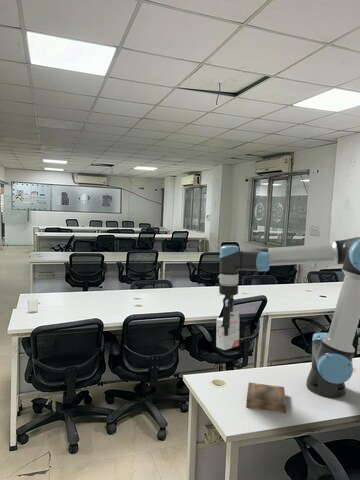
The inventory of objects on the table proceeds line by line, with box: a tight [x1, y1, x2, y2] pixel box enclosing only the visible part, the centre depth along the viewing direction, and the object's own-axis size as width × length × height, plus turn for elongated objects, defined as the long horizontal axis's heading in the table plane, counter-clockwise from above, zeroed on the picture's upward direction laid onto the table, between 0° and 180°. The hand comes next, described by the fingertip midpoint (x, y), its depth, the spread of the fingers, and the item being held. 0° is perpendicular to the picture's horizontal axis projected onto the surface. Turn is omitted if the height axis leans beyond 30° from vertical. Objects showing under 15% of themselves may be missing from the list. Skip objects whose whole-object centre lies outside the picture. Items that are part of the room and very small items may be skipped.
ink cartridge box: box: [215, 310, 240, 351], centre depth 142 cm, size 9×5×15 cm, turn 126°
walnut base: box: [245, 382, 287, 414], centre depth 135 cm, size 14×14×3 cm
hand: (227, 339), depth 142 cm, fingers closed on ink cartridge box, 9 cm apart
